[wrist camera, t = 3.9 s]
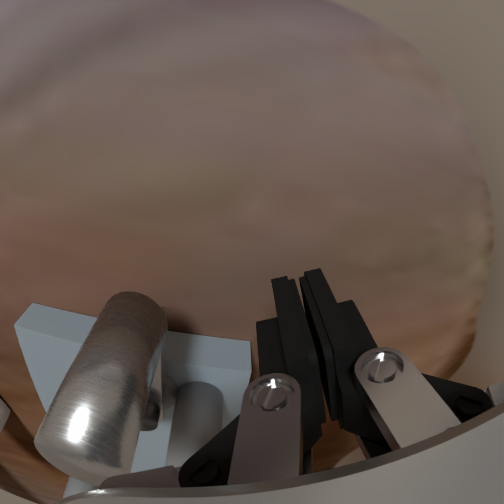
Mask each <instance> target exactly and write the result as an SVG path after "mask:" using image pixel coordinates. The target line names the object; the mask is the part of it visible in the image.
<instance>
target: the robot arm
mask: <svg viewBox="0 0 504 504" xmlns="http://www.w3.org/2000/svg"><path fill="white" fill-rule="evenodd" d="M304 275H305V276H303V277H299V281H300V287H301V292H302V298H303V303H304V309H305V312H304V309H303V306H302V302H301V299H300V296H299V293H298V289H297V286H296V283H295V280H294V279H290V280H288V278H287V276H284V277H280V278H275V279H271V282H272V288H273V293H274V299H275V304H276V310H277V316H278V317H276V318H272V319H267V320H262V321H258V322H256V330H257V343H258V356H259V369H260V377H259V378H257V379H256V380H254V381H253V382H251V383H250V384H249V386H248V387H247V388H246V390H245V392H244V395H243V400H242V406H241V412H240V414H239V415H238V416H237V417H236V418H235V419H234V420H232V421H231V422H230V423H229V424H228V425H227V426H226V427H225V428H224V429H222V430H221V431H220V432H219V433H218V434H217V435H216V436H214V437H213V438H212V439H211V440H210V441H209V442H208V443H206V444H205V445H204V446H203V447H202V448H201V449H199V450H198V451H197V452H196V453H195V454H193V455H192V456H191V457H190V458H189V459H188V460H187V461H186V462H185V463H184V464H183V465H182V466H180V467H176V468H175V467H174V466H173V465H170V466H165V467H160V468H155V469H150V470H145V471H140V472H134V473H128V474H122V475H115V476H112V477H109V478H107V479H106V480H104V481H103V482H102V483H101V485H100V486H99V488H98V490H92V491H87V492H82V493H78V494H74V495H71V496H69V497H66V498H64V499H62V500H59V501H58V502H57V503H55V504H504V382H502V383H499V384H495V385H491V386H488V388H487V390H485V391H483V390H481V389H478V388H476V387H472V386H468V385H464V384H460V383H456V382H452V381H448V380H445V379H441V378H437V377H433V376H430V375H426V374H422V373H420V372H419V370H418V369H417V368H416V367H415V366H414V364H413V363H412V362H411V361H410V360H409V359H408V357H407V356H406V355H405V354H403V353H402V352H401V351H399V350H397V349H394V348H389V347H377V345H376V343H375V341H374V339H373V337H372V335H371V333H370V331H369V330H368V328H367V326H366V324H365V322H364V320H363V318H362V316H361V315H360V313H359V311H358V309H357V307H356V305H355V303H354V302H353V300H348V301H344V302H340V303H337V302H336V300H335V298H334V295H333V293H332V291H331V289H330V287H329V285H328V283H327V281H326V279H325V277H324V275H323V273H322V271H321V269H320V268H319V269H315V270H310V271H306V272H304ZM305 315H306V316H305ZM321 384H322V385H321ZM322 387H323V391H324V395H325V399H326V402H327V406H328V410H329V414H330V418H331V421H335V420H338V422H339V426H340V429H342V428H344V430H346V431H349V432H351V433H354V434H355V437H356V440H357V442H358V444H359V446H360V448H361V450H362V452H363V454H364V456H365V458H366V460H364V461H360V462H356V463H353V464H349V465H345V466H341V467H337V468H333V469H329V470H325V471H320V472H315V473H313V449H312V447H313V445H314V444H315V443H316V442H317V441H318V439H319V438H320V437H321V436H322V430H321V424H322V423H326V416H325V408H324V400H323V393H322Z"/></svg>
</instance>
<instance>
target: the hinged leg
mask: <svg viewBox="0 0 504 504" xmlns="http://www.w3.org/2000/svg"><path fill="white" fill-rule="evenodd" d="M167 328H168V322H167V318H166V315H165V307H160V306H159V305H158V304H157V303H156V302H155V301H154V300H152V299H151V298H149V297H147V296H145V295H143V294H140V293H137V292H121V293H118V294H115V295H114V296H112V297H111V298H110V299H109V300H108V302H107V303H106V305H105V306H104V308H103V310H102V311H101V313H100V315H99V316H98V318H97V320H96V322H95V323H94V325H93V327H92V328H91V330H90V332H89V334H88V335H87V337H86V339H85V341H84V342H83V344H82V346H81V348H80V349H79V351H78V353H77V355H76V357H75V358H74V360H73V362H72V364H71V366H70V368H69V370H68V371H67V373H66V375H65V377H64V379H63V381H62V383H61V385H60V387H59V389H58V391H57V393H56V395H55V397H54V399H53V401H52V403H51V405H50V407H49V409H48V411H47V413H46V415H45V417H44V419H43V421H42V423H41V426H40V428H39V430H38V432H37V434H36V436H35V439H34V445H35V447H36V449H37V450H38V452H39V453H40V454H41V455H42V456H43V457H44V458H45V459H46V460H47V461H48V462H49V463H50V464H52V465H53V466H54V467H56V468H57V469H59V470H61V471H62V472H64V473H66V474H68V475H69V476H71V477H74V478H76V479H78V480H80V481H83V482H86V483H89V484H92V485H96V486H100V485H101V483H102V482H103V481H104V480H106V479H107V478H109V477H112V476H115V475H122V474H128V473H131V468H132V464H133V459H134V455H135V450H136V446H137V442H138V438H139V433H140V431H153V430H155V429H156V428H157V427H158V422H159V421H161V422H163V419H164V414H165V409H166V406H165V336H166V332H167Z"/></svg>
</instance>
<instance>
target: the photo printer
mask: <svg viewBox="0 0 504 504" xmlns="http://www.w3.org/2000/svg"><path fill="white" fill-rule="evenodd" d="M9 415H10V409H9V408H8V407H7V405H6V404H5V403H4V402H3V401H2V399H1V398H0V433H1V431H2V429H3V427H4V425H5V423H6V421H7V419H8V417H9Z"/></svg>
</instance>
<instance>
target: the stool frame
mask: <svg viewBox="0 0 504 504" xmlns="http://www.w3.org/2000/svg"><path fill="white" fill-rule="evenodd" d="M96 320H97V318H96V317H91V316H87V315H82V314H77V313H73V312H69V311H64V310H60V309H56V308H52V307H47V306H43V305H39V304H36V303H32V304H31V306H30V307H29V308H28V309H27V310H26V311H25V312H24V314H23V315H22V316H21V317H20V318H19V320H18V321H17V322H16V323H15V324H14V327H15V330H16V333H17V337H18V340H19V343H20V346H21V349H22V352H23V355H24V358H25V361H26V364H27V367H28V369H29V372H30V375H31V377H32V380H33V383H34V385H35V388H36V390H37V393H38V395H39V397H40V400H41V402H42V404H43V407H44V409H45V411H46V413H47V411H48V409H49V407H50V405H51V403H52V401H53V399H54V397H55V395H56V393H57V391H58V389H59V387H60V385H61V383H62V381H63V379H64V377H65V375H66V373H67V371H68V370H69V368H70V366H71V364H72V362H73V360H74V358H75V357H76V355H77V353H78V351H79V349H80V348H81V346H82V344H83V342H84V341H85V339H86V337H87V335H88V334H89V332H90V330H91V328H92V327H93V325H94V323H95V322H96ZM251 372H252V370H251V350H250V341H243V340H234V339H225V338H217V337H209V336H202V335H195V334H188V333H181V332H174V331H168V330H167V332H166V336H165V406H166V409H165V414H164V419H163V422H161V421H159V422H158V427H157V428H156V429H155V430H153V431H140V433H139V438H138V442H137V446H136V450H135V455H134V459H133V464H132V468H131V473H134V472H140V471H145V470H150V469H155V468H160V467H165V466H170V465H173V466H174V467H175V468H176V467H180V466H182V465H183V464H184V463H185V462H186V461H187V460H188V459H189V458H190V457H191V456H192V455H193V454H195V453H196V452H197V451H198V450H199V449H201V448H202V447H203V446H204V445H205V444H206V443H208V442H209V441H210V440H211V439H212V438H213V437H214V436H216V435H217V434H218V433H219V432H220V431H221V430H222V429H224V428H225V427H226V426H227V425H228V424H229V423H230V422H231V421H232V420H234V419H235V418H236V417H237V416H238V415H239V414H240V412H241V406H242V400H243V395H244V392H245V390H246V388H247V387H248V384H249V380H250V376H251ZM98 488H99V486H96V485H92V484H89V483H86V482H83V481H80V480H78V479H76V478H74V477H71V476H70V477H69V480H68V483H67V486H66V489H65V493H64V496H63V499H64V498H66V497H69V496H71V495H74V494H78V493H82V492H87V491H92V490H98Z"/></svg>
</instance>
